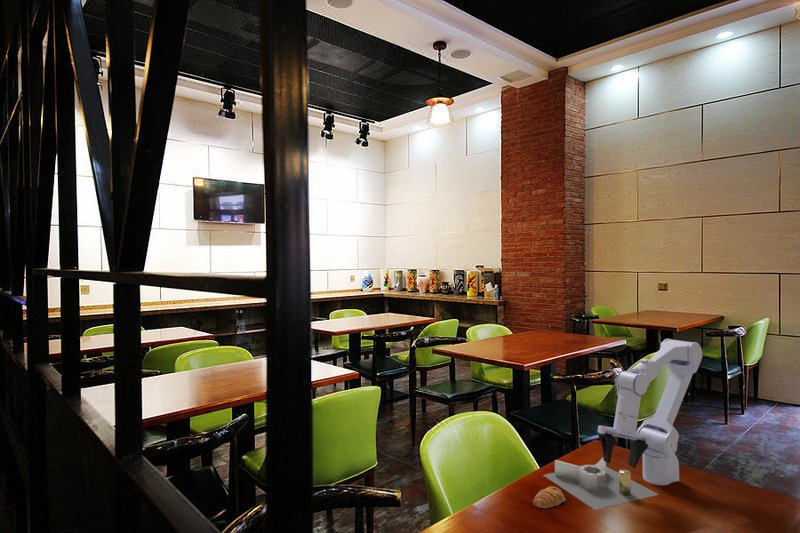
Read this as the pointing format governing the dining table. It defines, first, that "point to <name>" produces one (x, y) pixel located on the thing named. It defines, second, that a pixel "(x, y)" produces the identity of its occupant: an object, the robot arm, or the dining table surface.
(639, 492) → the mat
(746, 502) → the dining table surface
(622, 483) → the pin
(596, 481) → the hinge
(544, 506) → the pastry
